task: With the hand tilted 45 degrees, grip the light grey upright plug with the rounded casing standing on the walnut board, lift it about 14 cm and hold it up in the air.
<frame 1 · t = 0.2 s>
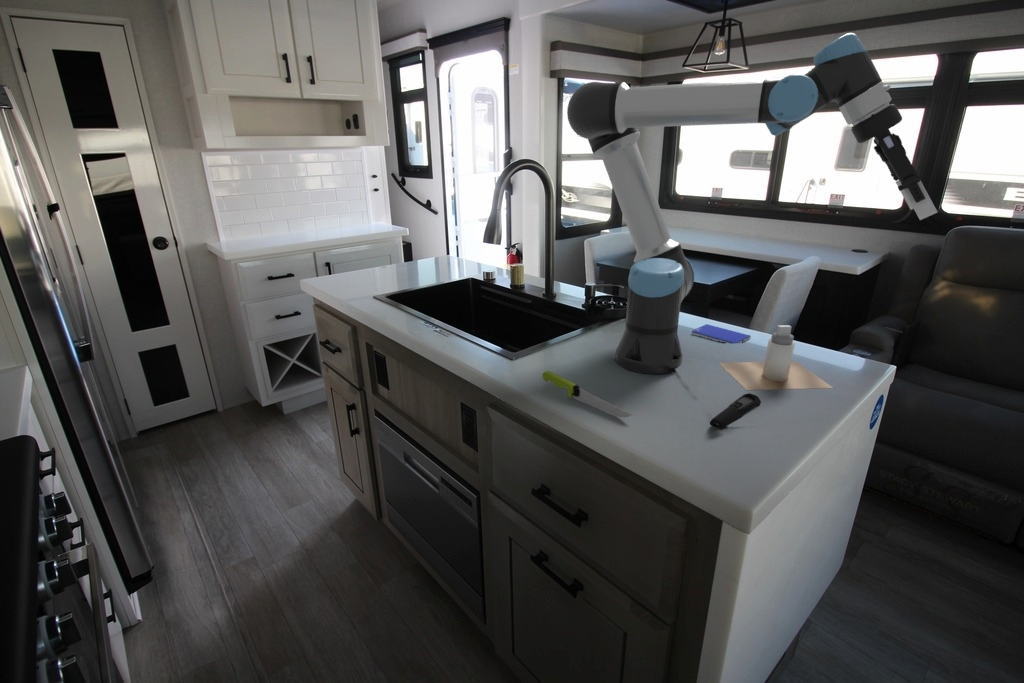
hand: (923, 211, 99), 35 cm above the worktop, tool tilted 35°, fingers open, 13 cm apart
electric trimmer: (735, 419, 96), on the worktop
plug: (774, 376, 109), point 1 cm above the worktop, touching board
board: (771, 378, 111), on the worktop
hard drive: (720, 338, 136), on the worktop
kitchen knife: (584, 403, 101), on the worktop
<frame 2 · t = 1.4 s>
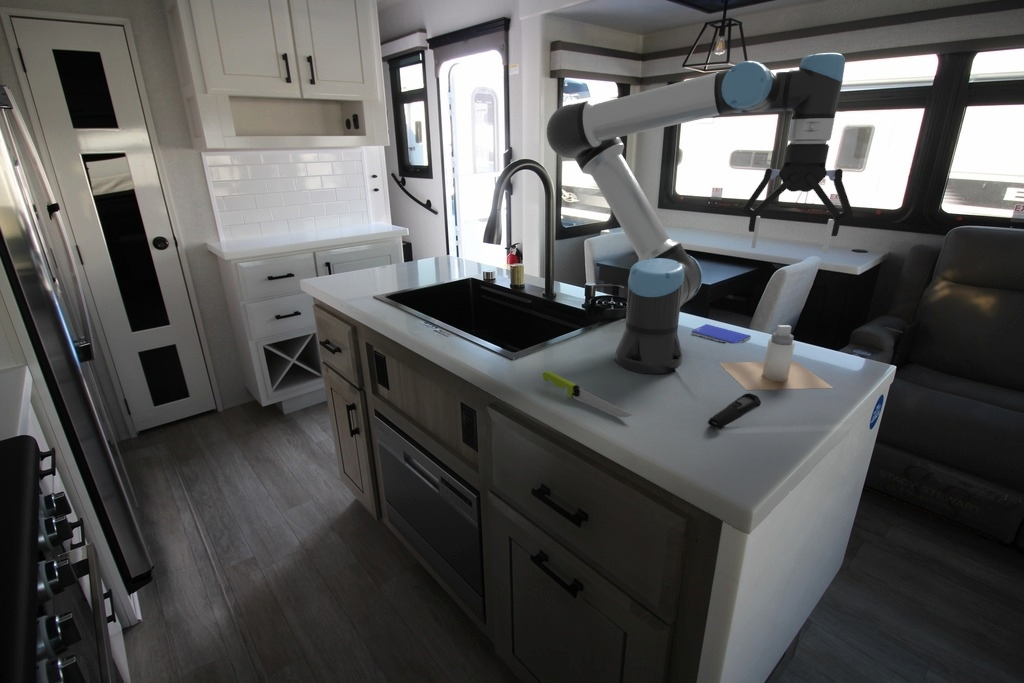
hand: (788, 249, 109), 27 cm above the worktop, tool pointing down, fingers open, 13 cm apart
nothing on the worktop moved.
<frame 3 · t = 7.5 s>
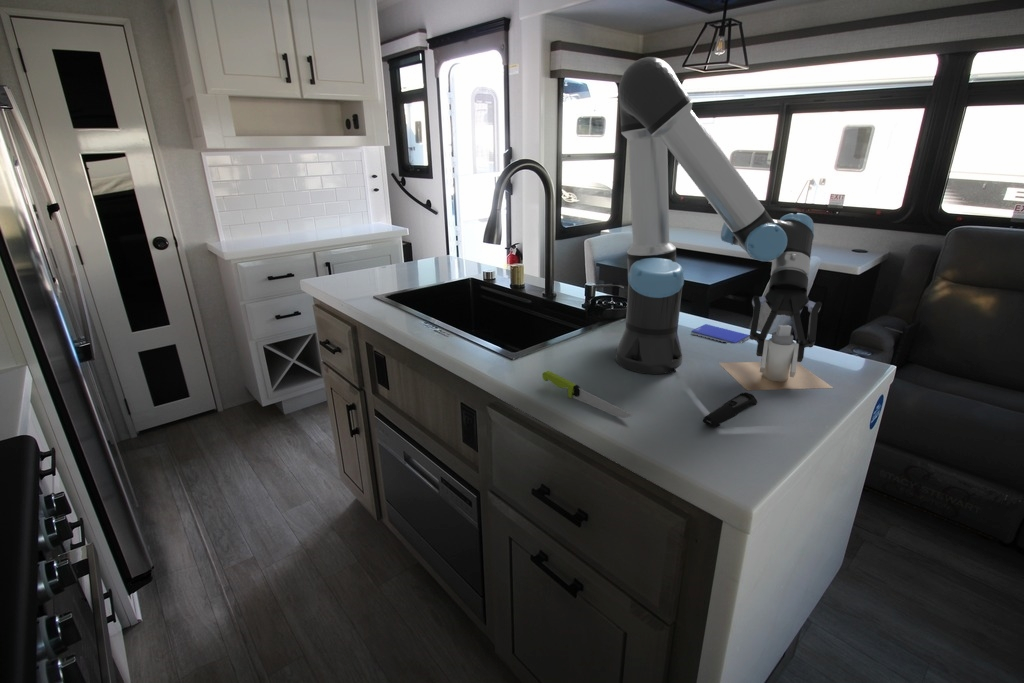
hand: (777, 372, 105), 4 cm above the worktop, tool tilted 45°, fingers closed on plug, 5 cm apart
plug: (774, 376, 109), point 1 cm above the worktop, touching board, gripper
everything else where it was.
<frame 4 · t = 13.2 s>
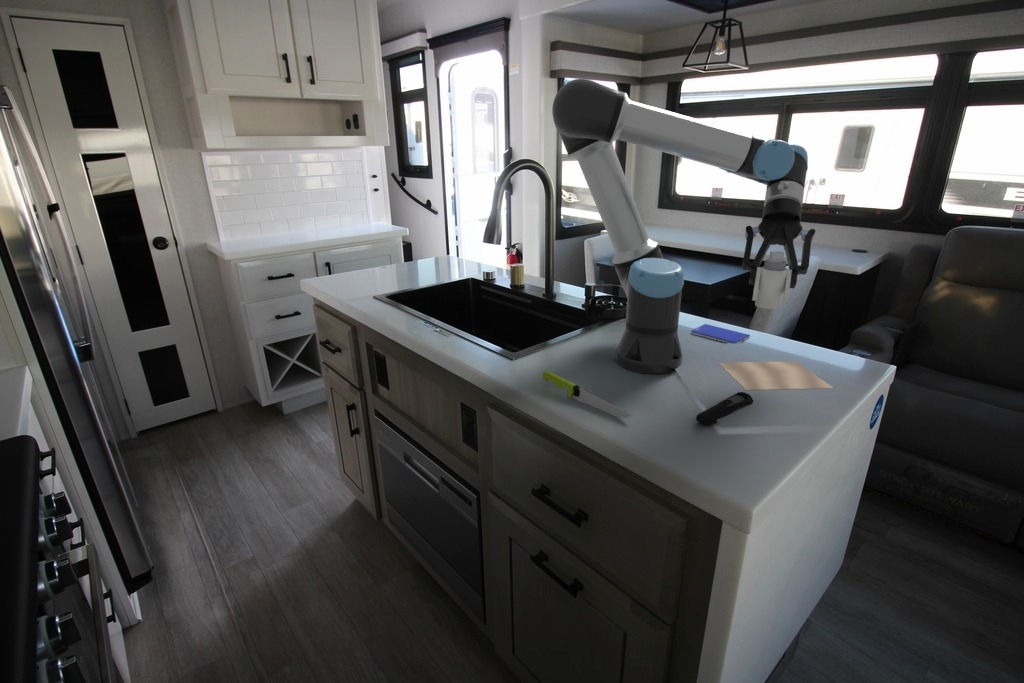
hand: (769, 298, 104), 18 cm above the worktop, tool tilted 45°, fingers closed on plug, 5 cm apart
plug: (767, 306, 108), point 16 cm above the worktop, touching gripper
at the end: the gripper is holding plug; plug point 15.7 cm above the worktop; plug touching gripper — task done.
